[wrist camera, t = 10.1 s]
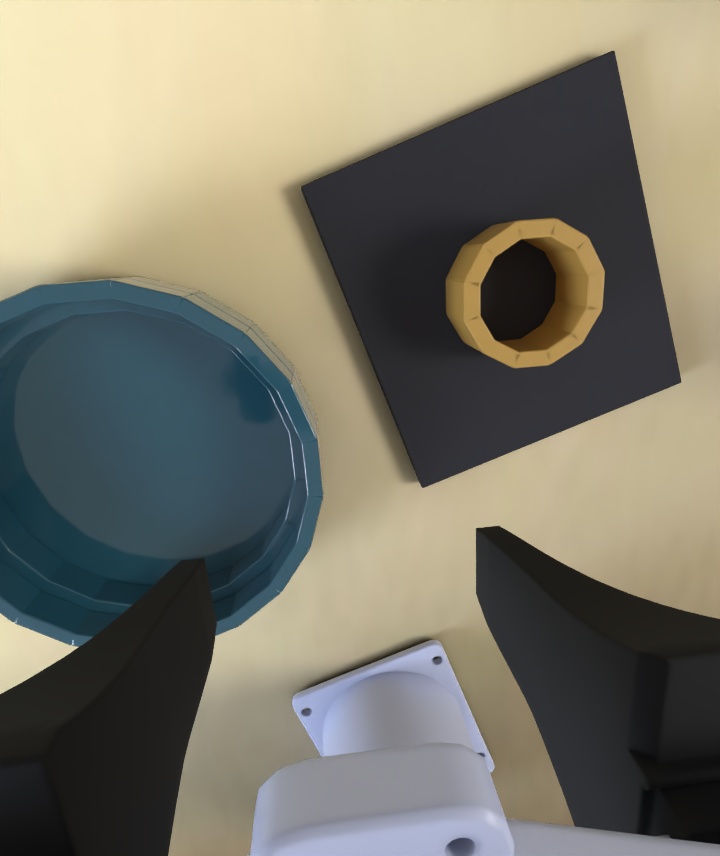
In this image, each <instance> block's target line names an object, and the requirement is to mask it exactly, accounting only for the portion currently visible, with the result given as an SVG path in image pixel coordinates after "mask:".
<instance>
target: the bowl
mask: <svg viewBox="0 0 720 856" xmlns="http://www.w3.org/2000/svg"><path fill="white" fill-rule="evenodd" d="M322 500H323V479H322V462H321V453H320V443H319V433H318V423H317V417H316V413H315V411H314V409H313V407H312V405H311V402H310V400H309V398H308V396H307V394H306V391H305V389H304V387H303V385H302V383H301V380H300V378H299V376H298V374H297V372H296V369H295V368H294V367H293V365H292V363H291V362H290V361H289V360H288V359H287V358H286V357H285V356H284V355H283V354H282V352H281V351H280V350H279V349H278V348H277V347H276V346H275V345H274V344H273V343H272V341H271V340H270V339H269V338H268V337H267V336H266V335H265V334H264V333H263V332H262V330H261V329H260V328H259V327H258V326H257V325H256V324H255V323H253V322H252V321H251V320H249V319H247V318H245V317H244V316H242V315H240V314H239V313H237V312H235V311H234V310H232V309H230V308H229V307H227V306H225V305H223V304H222V303H220V302H218V301H217V300H215V299H213V298H212V297H210V296H208V295H206V294H205V293H203V292H200V291H198V290H194V289H190V288H186V287H181V286H177V285H173V284H169V283H165V282H160V281H156V280H152V279H148V278H144V277H124V278H111V279H98V280H85V281H73V282H63V283H53V284H43V285H38V286H34V287H32V288H30V289H27V290H25V291H23V292H21V293H18V294H16V295H14V296H11V297H9V298H7V299H5V300H2V301H0V613H1V614H2V615H3V616H5V617H6V618H8V619H9V620H10V621H12V622H15V623H16V624H18V625H20V626H23V627H25V628H28V629H30V630H33V631H35V632H38V633H40V634H43V635H45V636H48V637H51V638H53V639H56V640H58V641H61V642H63V643H66V644H68V645H72V646H77V647H80V646H81V645H83V644H84V643H86V642H87V641H88V640H90V639H91V638H93V637H94V636H95V635H97V634H98V633H99V632H100V631H102V630H103V629H104V628H106V627H107V626H108V625H109V624H110V623H112V622H113V621H114V620H115V619H116V618H117V617H119V616H120V615H121V614H122V613H123V612H125V611H126V610H127V609H128V608H129V607H131V606H132V605H133V604H134V603H135V602H136V601H137V600H138V599H140V598H141V597H142V596H143V595H144V594H145V593H146V592H147V591H148V590H149V589H150V588H151V587H153V586H154V585H155V584H156V583H157V582H158V581H159V580H160V579H161V578H162V577H163V576H164V575H165V574H166V573H167V572H168V571H170V570H171V569H172V568H173V567H174V566H175V565H176V564H177V563H179V562H180V561H181V560H191V559H200V558H205V563H206V568H207V574H208V579H209V584H210V590H211V595H212V600H213V606H214V611H215V616H216V622H217V627H216V634H215V636H216V635H219V634H221V633H224V632H226V631H229V630H231V629H233V628H236V627H238V626H239V625H241V624H243V623H244V622H245V621H246V620H248V619H249V618H250V617H251V616H253V615H254V614H255V613H256V612H258V611H259V610H260V609H261V608H263V607H264V606H265V605H266V604H268V603H269V602H270V601H271V600H273V599H274V598H275V597H276V596H278V595H279V594H280V593H281V592H282V591H283V589H284V588H285V586H286V585H287V583H288V582H289V580H290V579H291V577H292V576H293V574H294V573H295V571H296V570H297V568H298V566H299V565H300V563H301V562H302V560H303V559H304V557H305V556H306V554H307V553H308V551H309V550H310V547H311V544H312V540H313V536H314V532H315V528H316V524H317V520H318V516H319V512H320V508H321V504H322Z"/></svg>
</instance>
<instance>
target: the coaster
mask: <svg viewBox="0 0 720 856" xmlns="http://www.w3.org/2000/svg"><path fill="white" fill-rule="evenodd" d="M301 190H302V193H303V195H304V198H305V200H306V203H307V205H308V208H309V210H310V213H311V215H312V217H313V220H314V222H315V225H316V227H317V230H318V232H319V235H320V237H321V240H322V242H323V245H324V247H325V250H326V252H327V255H328V257H329V260H330V262H331V264H332V267H333V269H334V272H335V274H336V277H337V279H338V282H339V284H340V287H341V289H342V292H343V294H344V297H345V299H346V302H347V304H348V307H349V309H350V311H351V314H352V316H353V319H354V321H355V324H356V326H357V329H358V331H359V334H360V336H361V339H362V341H363V344H364V346H365V349H366V351H367V354H368V356H369V359H370V361H371V363H372V366H373V368H374V371H375V373H376V376H377V378H378V381H379V383H380V386H381V388H382V391H383V393H384V396H385V398H386V401H387V403H388V406H389V408H390V410H391V413H392V415H393V418H394V420H395V423H396V425H397V428H398V430H399V433H400V435H401V438H402V440H403V443H404V445H405V448H406V450H407V453H408V455H409V457H410V460H411V462H412V465H413V467H414V470H415V472H416V475H417V477H418V480H419V482H420V484H421V486H422V488H424V487H427V486H429V485H431V484H434V483H436V482H439V481H441V480H444V479H446V478H449V477H451V476H454V475H456V474H458V473H461V472H463V471H466V470H468V469H471V468H473V467H476V466H478V465H480V464H483V463H485V462H488V461H490V460H493V459H495V458H498V457H500V456H502V455H505V454H507V453H510V452H512V451H515V450H517V449H520V448H522V447H525V446H527V445H529V444H532V443H534V442H537V441H539V440H542V439H544V438H547V437H549V436H551V435H554V434H556V433H559V432H561V431H564V430H566V429H569V428H571V427H573V426H576V425H578V424H581V423H583V422H586V421H588V420H591V419H593V418H596V417H598V416H600V415H603V414H605V413H608V412H610V411H613V410H615V409H618V408H620V407H622V406H625V405H627V404H630V403H632V402H635V401H637V400H640V399H642V398H644V397H647V396H649V395H652V394H654V393H657V392H659V391H662V390H664V389H667V388H669V387H671V386H674V385H676V384H679V383H681V377H680V373H679V368H678V363H677V358H676V353H675V348H674V343H673V338H672V333H671V328H670V323H669V318H668V313H667V308H666V303H665V298H664V293H663V288H662V284H661V279H660V274H659V269H658V264H657V259H656V254H655V249H654V244H653V239H652V234H651V229H650V224H649V219H648V214H647V209H646V204H645V199H644V195H643V190H642V185H641V180H640V175H639V170H638V165H637V160H636V155H635V150H634V145H633V140H632V135H631V130H630V125H629V120H628V115H627V110H626V106H625V101H624V96H623V91H622V86H621V81H620V76H619V71H618V66H617V61H616V56H615V52H614V51H611V52H608V53H606V54H604V55H602V56H599V57H597V58H595V59H592V60H590V61H588V62H585V63H583V64H581V65H579V66H576V67H574V68H572V69H569V70H567V71H565V72H563V73H560V74H558V75H556V76H553V77H551V78H549V79H546V80H544V81H542V82H540V83H537V84H535V85H533V86H530V87H528V88H526V89H524V90H521V91H519V92H517V93H514V94H512V95H510V96H508V97H505V98H503V99H501V100H498V101H496V102H494V103H491V104H489V105H487V106H485V107H482V108H480V109H478V110H475V111H473V112H471V113H469V114H466V115H464V116H462V117H459V118H457V119H455V120H452V121H450V122H448V123H446V124H443V125H441V126H439V127H436V128H434V129H432V130H430V131H427V132H425V133H423V134H420V135H418V136H416V137H413V138H411V139H409V140H407V141H404V142H402V143H400V144H397V145H395V146H393V147H391V148H388V149H386V150H384V151H381V152H379V153H377V154H374V155H372V156H370V157H368V158H365V159H363V160H361V161H358V162H356V163H354V164H352V165H349V166H347V167H345V168H342V169H340V170H338V171H335V172H333V173H331V174H329V175H326V176H324V177H322V178H319V179H317V180H315V181H313V182H310V183H308V184H306V185H303V186H302V187H301ZM545 218H555V219H559V220H560V221H562V222H564V223H566V224H567V225H569V226H571V227H573V228H574V229H576V230H578V231H579V232H581V233H583V234H585V235H586V236H587V237H588V238H589V239H590V241H591V244H592V246H593V248H594V250H595V252H596V254H597V256H598V258H599V260H600V262H601V264H602V266H603V268H604V271H605V278H604V292H603V306H602V310H601V312H600V314H599V316H598V318H597V319H596V321H595V323H594V324H593V326H592V328H591V329H590V331H589V333H588V334H587V336H586V338H585V340H584V341H583V343H582V344H581V345H579V346H578V347H576V348H575V349H573V350H572V351H570V352H569V353H567V354H566V355H564V356H563V357H561V358H560V359H558V360H557V361H555V362H554V363H552V364H550V365H546V366H535V367H524V368H512V367H510V366H508V365H506V364H504V363H502V362H500V361H498V360H496V359H494V358H492V357H490V356H488V355H486V354H484V353H482V352H480V351H478V350H476V349H475V348H473V347H471V346H469V345H467V344H466V343H464V342H463V341H462V339H461V338H460V336H459V334H458V333H457V331H456V329H455V328H454V326H453V324H452V323H451V321H450V319H449V318H448V316H447V314H446V277H447V275H448V273H449V271H450V269H451V267H452V266H453V264H454V262H455V260H456V258H457V256H458V254H459V252H460V250H461V248H462V247H463V245H464V244H466V243H467V242H469V241H470V240H471V239H473V238H474V237H476V236H477V235H479V234H480V233H481V232H483V231H484V230H486V229H487V228H489V227H490V226H492V225H496V224H501V223H507V222H512V221H518V220H531V219H545ZM555 289H556V273H555V271H554V269H553V267H552V265H551V263H550V261H549V259H548V257H547V255H546V254H545V252H544V251H542V250H541V249H539V248H537V247H535V246H533V245H532V244H530V243H528V242H526V241H524V240H523V239H522V240H519V241H518V242H516V243H515V244H514V245H512V246H511V247H509V248H508V249H506V250H505V251H503V252H502V253H501V254H499V255H498V256H496V257H495V258H494V260H493V262H492V264H491V266H490V268H489V270H488V272H487V273H486V275H485V277H484V279H483V281H482V283H481V285H480V316H481V317H482V319H483V321H484V323H485V324H486V326H487V328H488V329H489V331H490V333H491V335H492V336H493V338H494V340H496V341H504V340H515V339H521V338H523V337H524V336H526V335H527V334H529V333H530V332H532V331H533V330H535V329H536V328H538V327H539V326H541V325H542V323H543V322H544V320H545V318H546V316H547V315H548V313H549V311H550V309H551V307H552V306H553V304H554V302H555Z"/></svg>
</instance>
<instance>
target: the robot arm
mask: <svg viewBox="0 0 720 856" xmlns="http://www.w3.org/2000/svg"><path fill="white" fill-rule="evenodd" d="M476 594H477V597H478V600H479V603H480V606H481V609H482V611H483V614H484V617H485V620H486V622H487V625H488V627H489V629H490V631H491V633H492V635H493V637H494V639H495V641H496V643H497V645H498V647H499V649H500V651H501V653H502V655H503V656H504V658H505V660H506V662H507V664H508V666H509V668H510V670H511V672H512V674H513V676H514V677H515V679H516V681H517V683H518V685H519V687H520V689H521V691H522V693H523V695H524V697H525V699H526V701H527V703H528V705H529V707H530V709H531V711H532V713H533V716H534V718H535V721H536V723H537V726H538V728H539V731H540V733H541V736H542V738H543V741H544V743H545V746H546V748H547V751H548V754H549V756H550V759H551V762H552V764H553V767H554V770H555V772H556V775H557V778H558V780H559V783H560V786H561V788H562V791H563V794H564V796H565V799H566V802H567V805H568V808H569V810H570V813H571V816H572V819H573V822H574V825H575V826H567V825H559V824H551V823H543V822H534V821H526V820H518V819H510V818H505V815H504V812H503V809H502V807H501V804H500V801H499V798H498V795H497V792H496V789H495V786H494V783H493V781H492V778H491V775H490V773H491V772H492V771H493V770H494V763H493V760H492V758H491V756H490V753H489V751H488V749H487V747H486V744H485V742H484V740H483V738H482V735H481V733H480V731H479V728H478V726H477V724H476V722H475V719H474V717H473V715H472V713H471V710H470V708H469V706H468V703H467V701H466V699H465V697H464V694H463V692H462V690H461V687H460V685H459V683H458V681H457V678H456V676H455V674H454V672H453V669H452V667H451V665H450V662H449V660H448V658H447V656H446V653H445V651H444V649H443V647H442V644H441V643H440V642H439V641H437V640H429V641H427V642H424V643H421V644H419V645H416V646H414V647H411V648H409V649H406V650H404V651H401V652H399V653H396V654H394V655H391V656H389V657H386V658H384V659H381V660H379V661H376V662H374V663H371V664H368V665H366V666H363V667H361V668H358V669H356V670H353V671H351V672H348V673H346V674H343V675H341V676H338V677H336V678H333V679H331V680H328V681H326V682H323V683H321V684H318V685H316V686H313V687H310V688H308V689H305V690H303V691H300V692H298V693H296V694H295V695H294V696H293V700H292V706H293V708H294V710H295V712H296V713H297V715H298V717H299V719H300V720H301V722H302V724H303V725H304V727H305V729H306V730H307V732H308V734H309V736H310V737H311V739H312V741H313V742H314V744H315V746H316V747H317V749H318V751H319V752H320V754H321V756H322V757H318V758H310V759H306V760H303V761H300V762H297V763H294V764H291V765H288V766H285V767H282V768H280V769H278V770H277V771H276V772H275V773H274V774H273V775H272V776H271V777H270V778H269V779H268V780H267V781H266V782H265V783H264V784H263V785H262V786H261V787H260V788H259V791H258V796H257V802H256V807H255V814H254V824H253V834H252V844H251V854H248V855H246V856H720V619H716V618H712V617H707V616H703V615H699V614H695V613H691V612H687V611H683V610H679V609H675V608H672V607H668V606H665V605H661V604H658V603H655V602H652V601H649V600H646V599H643V598H640V597H637V596H634V595H631V594H629V593H626V592H623V591H621V590H618V589H616V588H613V587H611V586H609V585H606V584H604V583H601V582H599V581H597V580H595V579H592V578H590V577H588V576H586V575H584V574H582V573H580V572H578V571H576V570H574V569H572V568H570V567H568V566H566V565H564V564H563V563H561V562H559V561H557V560H555V559H554V558H552V557H550V556H548V555H547V554H545V553H543V552H542V551H540V550H538V549H537V548H535V547H533V546H532V545H530V544H528V543H527V542H525V541H523V540H522V539H520V538H519V537H517V536H515V535H514V534H512V533H510V532H509V531H507V530H505V529H503V528H501V527H500V526H493V527H484V528H476ZM216 627H217V622H216V616H215V611H214V606H213V600H212V595H211V590H210V584H209V579H208V574H207V568H206V563H205V558H200V559H191V560H181V561H180V562H179V563H177V564H176V565H175V566H174V567H173V568H172V569H171V570H170V571H168V572H167V573H166V574H165V575H164V576H163V577H162V578H161V579H160V580H159V581H158V582H157V583H156V584H155V585H154V586H153V587H151V588H150V589H149V590H148V591H147V592H146V593H145V594H144V595H143V596H142V597H141V598H140V599H138V600H137V601H136V602H135V603H134V604H133V605H132V606H131V607H129V608H128V609H127V610H126V611H125V612H123V613H122V614H121V615H120V616H119V617H117V618H116V619H115V620H114V621H113V622H112V623H110V624H109V625H108V626H107V627H106V628H104V629H103V630H102V631H100V632H99V633H98V634H97V635H95V636H94V637H93V638H91V639H90V640H88V641H87V642H86V643H84V644H83V645H81V646H80V647H79V648H77V649H76V650H74V651H73V652H71V653H70V654H68V655H67V656H65V657H64V658H62V659H61V660H59V661H57V662H56V663H54V664H52V665H51V666H49V667H47V668H46V669H44V670H42V671H41V672H39V673H38V674H36V675H34V676H33V677H31V678H29V679H28V680H26V681H24V682H22V683H20V684H19V685H17V686H15V687H13V688H11V689H9V690H7V691H5V692H4V693H2V694H0V856H168V852H169V845H170V839H171V833H172V827H173V821H174V814H175V808H176V802H177V796H178V791H179V785H180V780H181V774H182V769H183V763H184V758H185V754H186V750H187V746H188V742H189V738H190V735H191V731H192V728H193V724H194V721H195V717H196V714H197V710H198V707H199V703H200V700H201V696H202V693H203V689H204V686H205V682H206V679H207V675H208V672H209V668H210V664H211V661H212V655H213V649H214V642H215V634H216ZM436 656H440V657H439V658H437V659H433V658H434V657H436ZM304 708H310V709H308V710H305V709H304Z"/></svg>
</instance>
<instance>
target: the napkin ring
mask: <svg viewBox="0 0 720 856" xmlns="http://www.w3.org/2000/svg"><path fill="white" fill-rule="evenodd" d="M522 239H523V240H524V241H526V242H528V243H530V244H532V245H533V246H535V247H537V248H539V249H541V250H542V251H544V252H545V254H546V255H547V257H548V259H549V261H550V263H551V265H552V267H553V269H554V271H555V273H556V289H555V302H554V304H553V306H552V307H551V309H550V311H549V313H548V315H547V316H546V318H545V320H544V322H543V323H542V325H541V326H539V327H538V328H536V329H535V330H533V331H532V332H530V333H529V334H527V335H526V336H524V337H523V338H521V339H515V340H504V341H496V340H494V338H493V336H492V335H491V333H490V331H489V329H488V328H487V326H486V324H485V323H484V321H483V319H482V317H481V316H480V285H481V283H482V281H483V279H484V277H485V275H486V273H487V272H488V270H489V268H490V266H491V264H492V262H493V260H494V258H495V257H496V256H498V255H499V254H501V253H502V252H503V251H505V250H506V249H508V248H509V247H511V246H512V245H514V244H515V243H516V242H518V241H519V240H522ZM604 278H605V271H604V268H603V266H602V264H601V262H600V260H599V258H598V256H597V254H596V252H595V250H594V248H593V246H592V244H591V241H590V239H589V238H588V237H587V236H586V235H585V234H583V233H581V232H579V231H578V230H576V229H574V228H573V227H571V226H569V225H567V224H566V223H564V222H562V221H560V220H559V219H555V218H545V219H531V220H518V221H512V222H507V223H501V224H496V225H492V226H490V227H489V228H487V229H486V230H484V231H483V232H481V233H480V234H479V235H477V236H476V237H474V238H473V239H471V240H470V241H469V242H467V243H466V244H464V245H463V247H462V248H461V250H460V252H459V254H458V256H457V258H456V260H455V262H454V264H453V266H452V267H451V269H450V271H449V273H448V275H447V277H446V314H447V316H448V318H449V319H450V321H451V323H452V324H453V326H454V328H455V329H456V331H457V333H458V334H459V336H460V338H461V339H462V341H463V342H464V343H466V344H467V345H469V346H471V347H473V348H475V349H476V350H478V351H480V352H482V353H484V354H486V355H488V356H490V357H492V358H494V359H496V360H498V361H500V362H502V363H504V364H506V365H508V366H510V367H512V368H524V367H535V366H546V365H550V364H552V363H554V362H555V361H557V360H558V359H560V358H561V357H563V356H564V355H566V354H567V353H569V352H570V351H572V350H573V349H575V348H576V347H578V346H579V345H581V344H582V343H583V341H584V340H585V338H586V336H587V334H588V333H589V331H590V329H591V328H592V326H593V324H594V323H595V321H596V319H597V318H598V316H599V314H600V312H601V310H602V306H603V292H604Z"/></svg>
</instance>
